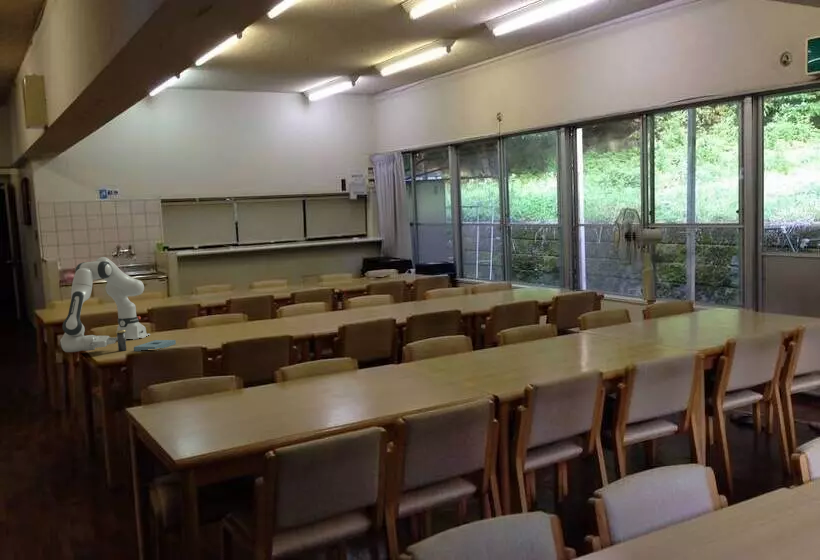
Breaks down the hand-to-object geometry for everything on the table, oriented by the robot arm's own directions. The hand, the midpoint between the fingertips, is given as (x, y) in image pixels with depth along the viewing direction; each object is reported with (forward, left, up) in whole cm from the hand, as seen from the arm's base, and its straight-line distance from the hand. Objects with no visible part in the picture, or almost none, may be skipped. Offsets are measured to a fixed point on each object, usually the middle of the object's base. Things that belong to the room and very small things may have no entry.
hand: (116, 340), depth 427 cm
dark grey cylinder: (-1, +3, -7) cm, 7 cm away
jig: (-10, +19, -7) cm, 22 cm away
